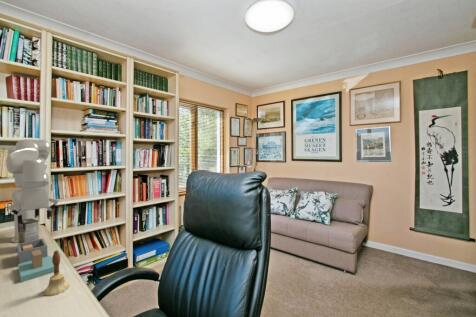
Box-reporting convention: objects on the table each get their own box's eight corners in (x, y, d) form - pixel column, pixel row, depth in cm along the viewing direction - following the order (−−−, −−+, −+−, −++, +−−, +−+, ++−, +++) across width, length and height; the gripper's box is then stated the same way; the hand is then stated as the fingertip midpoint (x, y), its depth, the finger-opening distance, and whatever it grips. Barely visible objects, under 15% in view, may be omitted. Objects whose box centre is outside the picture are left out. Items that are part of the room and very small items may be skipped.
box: (17, 256, 118) (17, 243, 118) (43, 250, 126) (43, 238, 126) (19, 266, 109) (19, 252, 109) (47, 258, 117) (47, 245, 116)
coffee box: (18, 248, 128) (17, 220, 128) (32, 244, 134) (31, 217, 133) (25, 252, 124) (24, 223, 124) (39, 247, 130) (38, 220, 129)
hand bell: (74, 285, 94) (73, 248, 93) (52, 298, 86) (51, 257, 85) (61, 281, 97) (60, 245, 96) (38, 293, 89) (37, 253, 88)
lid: (18, 269, 106) (17, 251, 106) (50, 260, 115) (50, 244, 115) (21, 282, 96) (20, 262, 96) (56, 271, 105) (55, 253, 104)
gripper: (56, 182, 114) (56, 215, 115) (7, 186, 102) (8, 223, 102) (59, 184, 109) (59, 218, 110) (8, 188, 97) (9, 227, 97)
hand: (35, 221), depth 106 cm, fingers open, 9 cm apart
